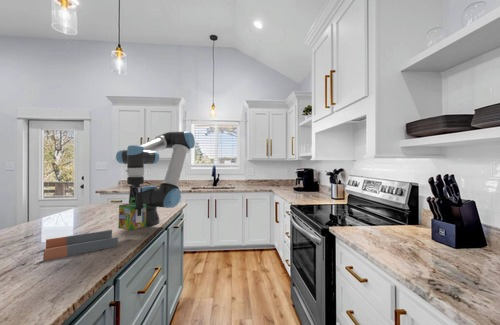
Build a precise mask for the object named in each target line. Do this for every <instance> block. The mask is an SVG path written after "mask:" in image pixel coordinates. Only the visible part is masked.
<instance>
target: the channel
mask: <svg viewBox="0 0 500 325" xmlns="http://www.w3.org/2000/svg"><path fill="white" fill-rule="evenodd" d="M118 239H119V237H118V236H117V237H116V236H115V237H113V230H112V229H107V230H99V231H93V232H87V233H80V234H74V235H68V236H60V237H54V238H46V239H45V249H44V250H43V251H44V254H43V256H44V257H43V260H44V261H47V260H53V259H54V260H55V259H58V258H64V257H68V256H73V255H79V254H84V253H90V252H95V251H99V250H100V251H101V250H105V249H110V248H116V247H118V246H119V245H118V244H119V243H118V242H119V241H118Z"/></svg>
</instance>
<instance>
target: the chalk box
mask: <svg viewBox="0 0 500 325" xmlns="http://www.w3.org/2000/svg"><path fill="white" fill-rule="evenodd" d="M133 200H135V198H134V197H132V198H131V200H130V203H129V202H128V203H123V204H119V205H118V229H121V230H126V231H131V232H132V231H135V230H138V229H141V228H144V227H147V226H146V204H143V208H142V222H138V223H136V210H135V208H136V203H133V202H132V201H133Z"/></svg>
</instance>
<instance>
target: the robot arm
mask: <svg viewBox="0 0 500 325" xmlns="http://www.w3.org/2000/svg"><path fill="white" fill-rule="evenodd" d="M195 143H196V140H195V137H194V134H193V133H192V132H191V131H186V130H185V131H169V132H165V133H162V134H160V135H156V136H155V137H154V139H151V140H148V141H147V142H144V143H141V144H139V145H128V146H127V148H126V149H123V150H118V151H117V152H116V154H115V155H116V156H115V158H116V162H118V163H119V164H123V165H126V167H127V168H126V169H125V172H127V174H126V175H127V179H126V182H127V185H129V196H128V204H129V203H130V200H131V198H132V197H134V198H135V200H133V201H132V202H133V203H136V208H135V210H136V223H138V222H142V208H143V204H146V226H145V227H147V226H148V227H149V226H154V225H157V224H159V223H160V216H159V214H158V210H157V208H166V209H170V208H171V209H172V208H175V207H176V206H178V205H179V204H180V201H181V197H182V195H181V194H182V193H181V190H180V186H179V180H180V177H181V174H182V170H183V167H184V163H185V159H186V155H187V154H188V153H189V152H190V150H191V149H194V148H195V145H196V144H195ZM165 149H172V154H171V158H170V161H169V164H168V166H167V170H166V173H165V176H164V179H163V182H161V183H160V185H159V187H158V186H157V185H149V186H148V185H146V186H142V187H141V186H140V185H143V184H144V183H145V180H144V179H145V178H144V177H145V176H144V175H145V166H144V165H154V164H157V163H158V162H159V160H160V154H159V153H158V151H160V150H162V151H163V150H165Z"/></svg>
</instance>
